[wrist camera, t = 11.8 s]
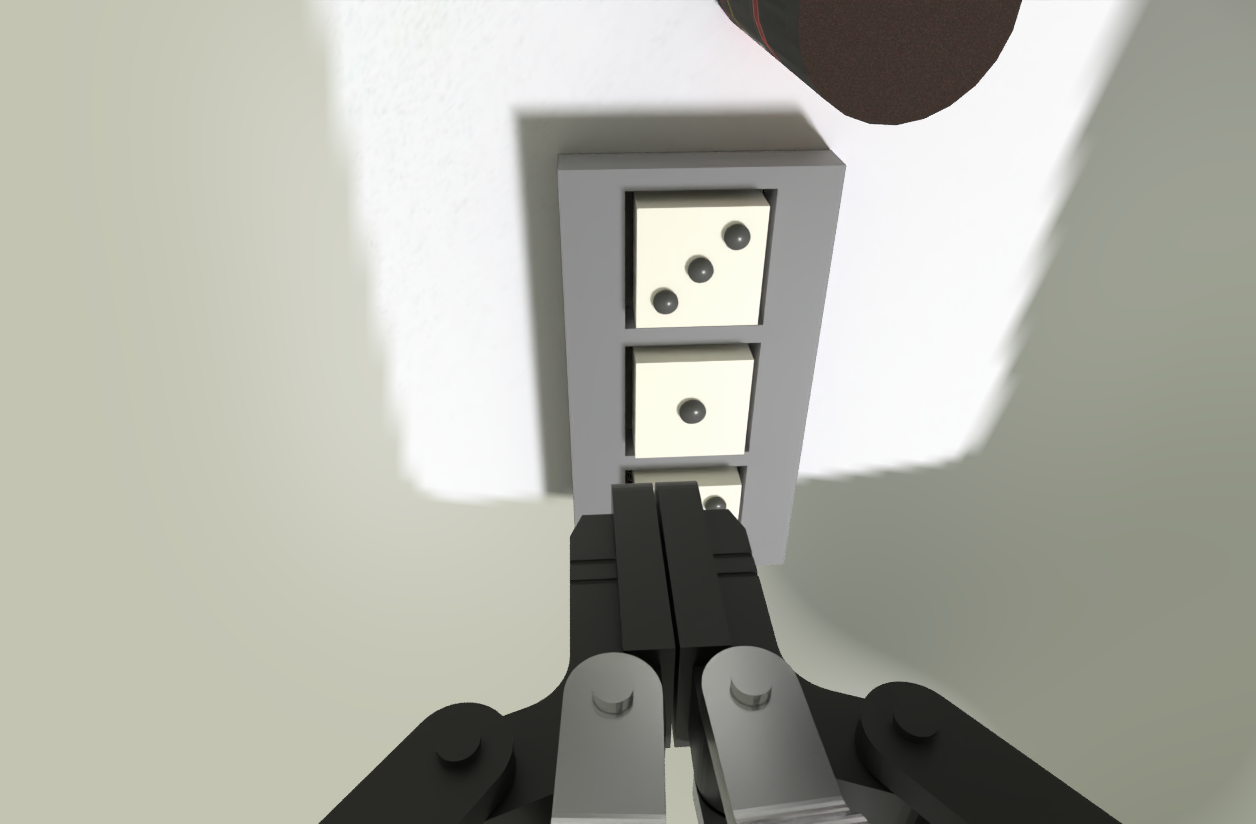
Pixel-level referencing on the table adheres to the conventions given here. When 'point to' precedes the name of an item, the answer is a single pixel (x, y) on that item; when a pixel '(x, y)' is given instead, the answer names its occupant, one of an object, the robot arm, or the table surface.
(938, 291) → the table surface
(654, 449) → the tile one
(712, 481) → the tile two
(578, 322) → the grey tile tray
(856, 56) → the deodorant
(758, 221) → the tile three
